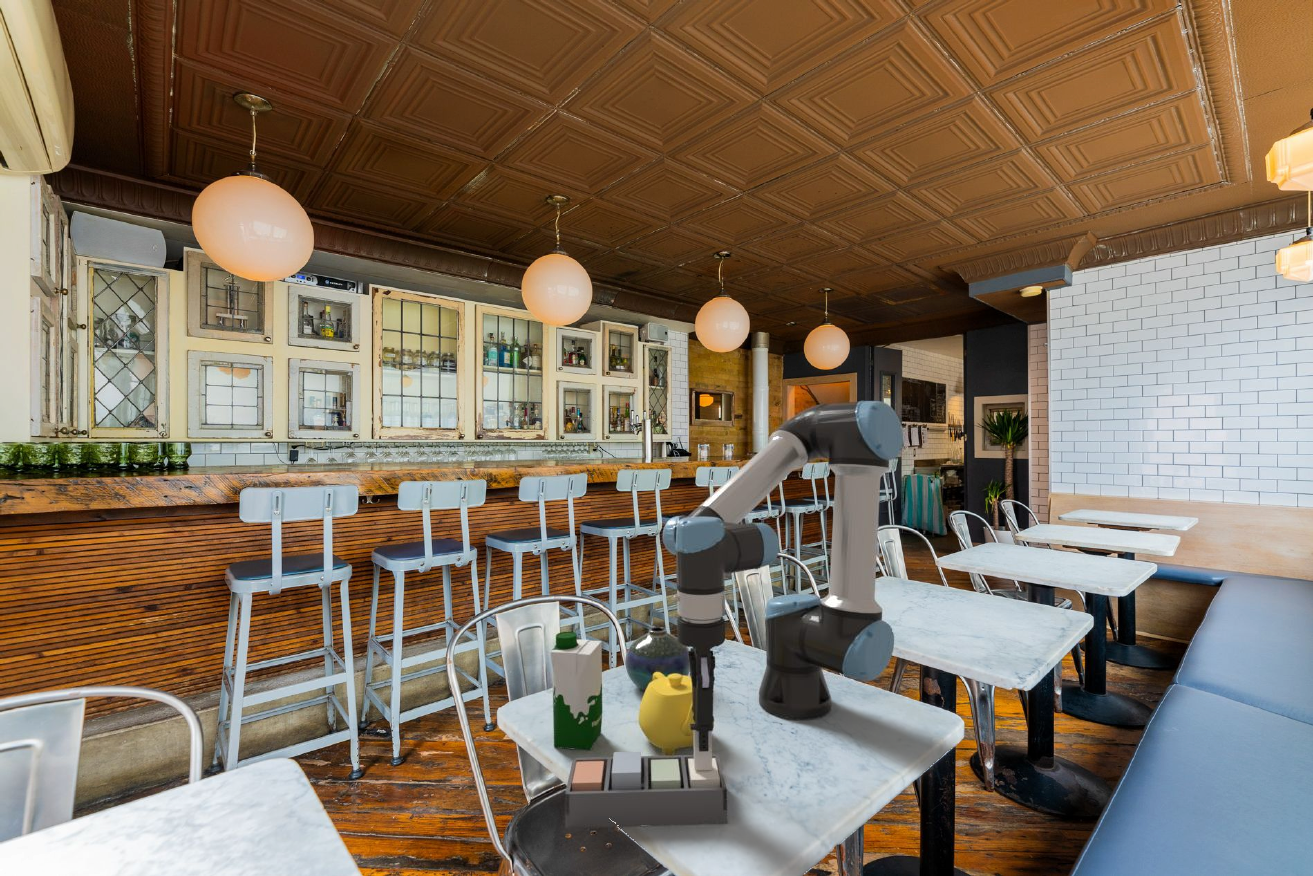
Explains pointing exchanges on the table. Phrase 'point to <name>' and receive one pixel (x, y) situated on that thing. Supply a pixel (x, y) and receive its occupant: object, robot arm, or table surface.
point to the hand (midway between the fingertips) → (702, 767)
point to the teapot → (668, 712)
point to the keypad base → (645, 800)
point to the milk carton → (576, 691)
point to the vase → (656, 657)
